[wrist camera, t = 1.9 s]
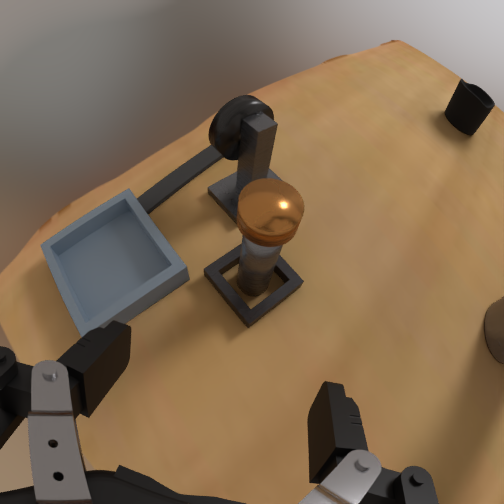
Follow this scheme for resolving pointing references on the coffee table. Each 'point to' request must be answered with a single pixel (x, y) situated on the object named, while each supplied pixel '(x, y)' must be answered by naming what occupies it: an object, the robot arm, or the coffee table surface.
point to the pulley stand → (242, 147)
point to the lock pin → (265, 229)
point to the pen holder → (468, 107)
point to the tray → (112, 264)
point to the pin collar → (234, 300)
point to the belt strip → (178, 178)
